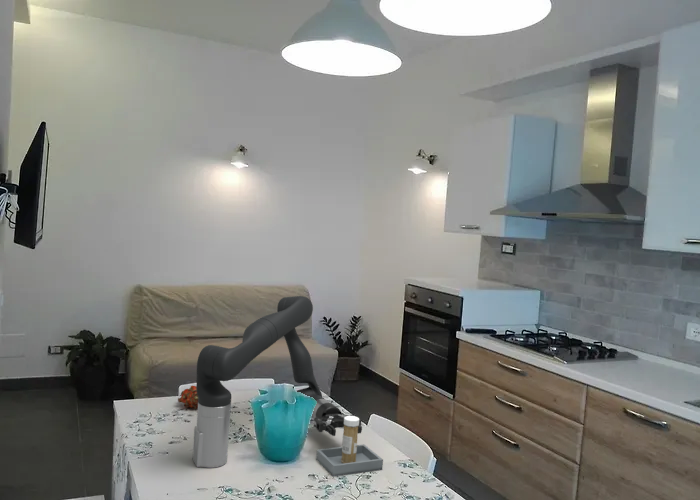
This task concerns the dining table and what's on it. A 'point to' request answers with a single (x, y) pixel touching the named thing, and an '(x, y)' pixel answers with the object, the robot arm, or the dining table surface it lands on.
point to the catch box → (335, 467)
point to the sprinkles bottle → (350, 439)
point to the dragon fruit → (189, 398)
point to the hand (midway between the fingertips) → (347, 431)
